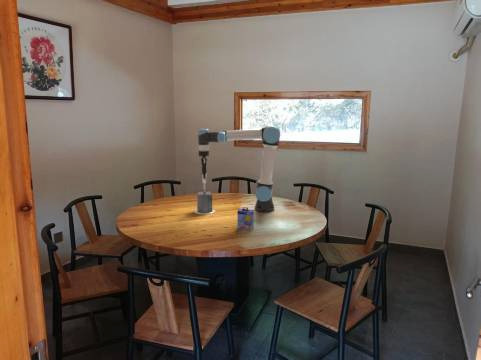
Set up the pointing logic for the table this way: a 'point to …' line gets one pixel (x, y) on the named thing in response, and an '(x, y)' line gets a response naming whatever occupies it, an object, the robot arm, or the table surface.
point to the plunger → (204, 183)
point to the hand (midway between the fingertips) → (204, 182)
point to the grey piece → (204, 202)
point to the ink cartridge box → (245, 219)
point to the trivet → (204, 213)
